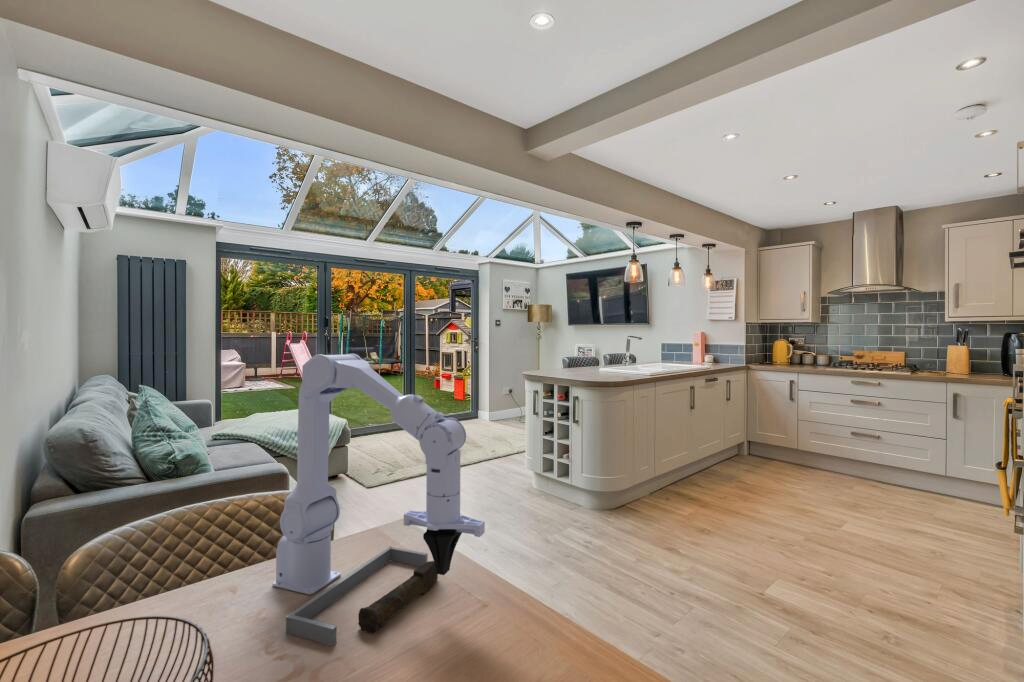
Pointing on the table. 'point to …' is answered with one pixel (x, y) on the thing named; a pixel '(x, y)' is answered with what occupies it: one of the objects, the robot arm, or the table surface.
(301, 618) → the u-shaped bracket
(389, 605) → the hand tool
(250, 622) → the table surface
